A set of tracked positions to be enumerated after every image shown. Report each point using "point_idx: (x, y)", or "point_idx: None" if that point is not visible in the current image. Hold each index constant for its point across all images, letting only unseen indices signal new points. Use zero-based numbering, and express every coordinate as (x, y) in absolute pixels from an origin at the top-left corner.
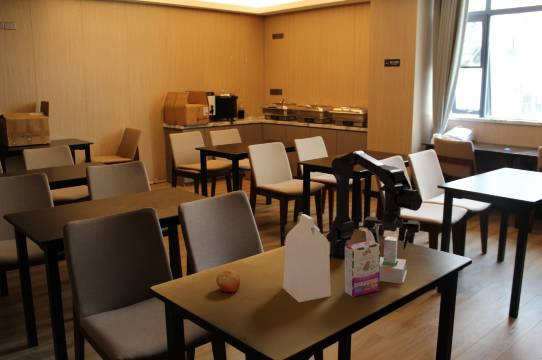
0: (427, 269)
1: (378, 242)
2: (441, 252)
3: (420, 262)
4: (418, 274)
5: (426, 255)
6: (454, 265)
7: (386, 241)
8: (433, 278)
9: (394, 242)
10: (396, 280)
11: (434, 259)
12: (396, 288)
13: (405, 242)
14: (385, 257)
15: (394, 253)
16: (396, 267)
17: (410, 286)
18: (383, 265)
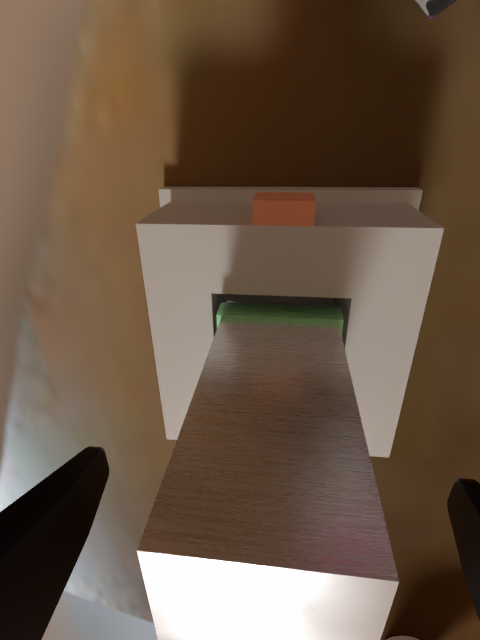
0: (95, 443)
1: (467, 556)
2: (98, 600)
3: (150, 510)
4: (118, 372)
5: None
6: (5, 502)
7: (344, 538)
8: (27, 338)
9: (180, 515)
10: (214, 197)
11: (102, 544)
12: (196, 63)
13: (3, 533)
14: (324, 347)
15: (214, 377)
16: (203, 258)
17: (108, 155)
18: (334, 275)
